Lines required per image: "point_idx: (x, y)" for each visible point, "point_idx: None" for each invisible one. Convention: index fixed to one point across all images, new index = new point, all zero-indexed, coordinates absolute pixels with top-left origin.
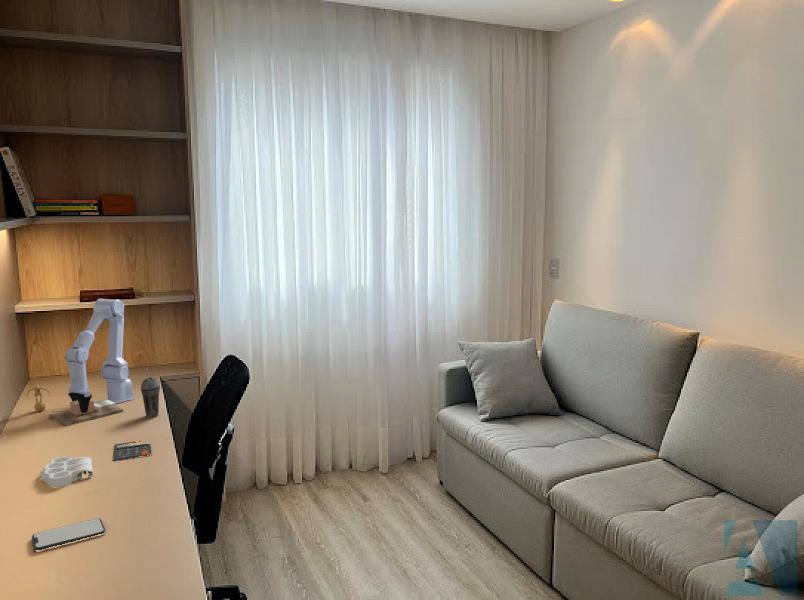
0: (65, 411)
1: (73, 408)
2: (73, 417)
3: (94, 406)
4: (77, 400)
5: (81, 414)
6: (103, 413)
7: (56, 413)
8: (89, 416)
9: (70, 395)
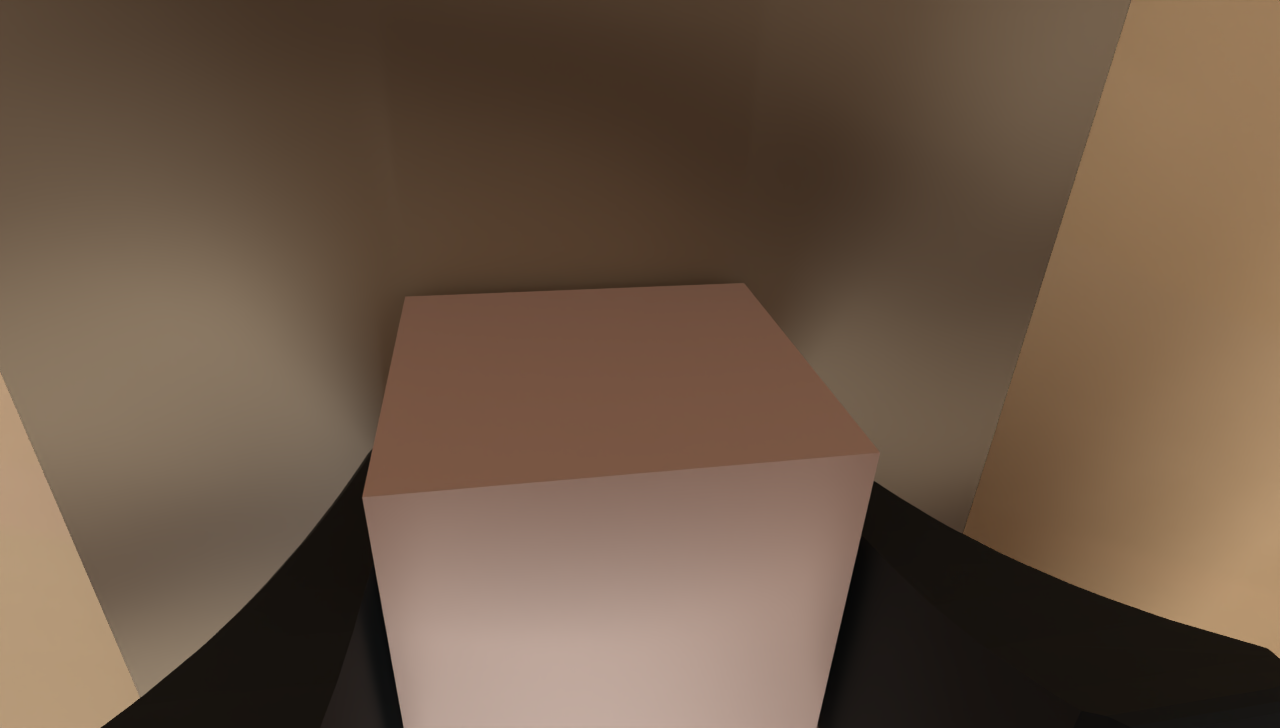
0: (1009, 247)
1: (583, 371)
2: (368, 201)
3: None
4: (828, 645)
5: None
6: None
7: (1086, 29)
8: (168, 493)
9: (1050, 699)
